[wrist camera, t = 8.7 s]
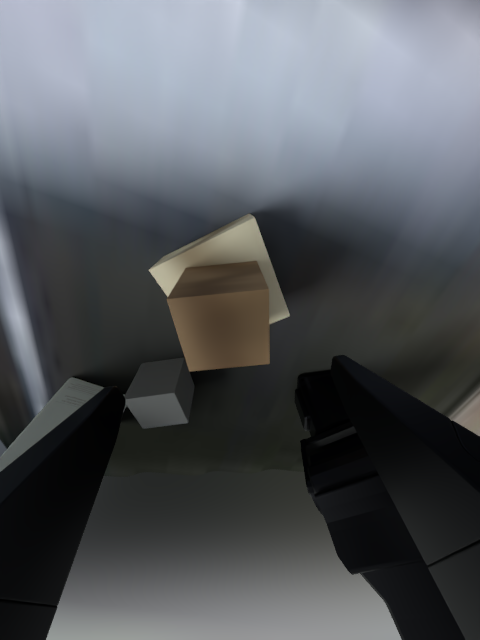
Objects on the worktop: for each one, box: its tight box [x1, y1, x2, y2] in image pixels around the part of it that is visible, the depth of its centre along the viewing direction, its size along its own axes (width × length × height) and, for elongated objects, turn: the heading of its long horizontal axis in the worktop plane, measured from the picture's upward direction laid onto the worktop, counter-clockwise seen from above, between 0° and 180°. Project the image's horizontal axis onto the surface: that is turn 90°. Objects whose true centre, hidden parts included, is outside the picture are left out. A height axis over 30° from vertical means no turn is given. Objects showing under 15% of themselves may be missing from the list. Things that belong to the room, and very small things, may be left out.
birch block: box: [149, 214, 290, 324], centre depth 17 cm, size 8×8×4 cm
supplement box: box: [0, 377, 127, 472], centre depth 21 cm, size 7×7×13 cm
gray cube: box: [124, 357, 195, 429], centre depth 22 cm, size 5×5×5 cm
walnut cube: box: [167, 261, 270, 372], centre depth 13 cm, size 5×5×5 cm
